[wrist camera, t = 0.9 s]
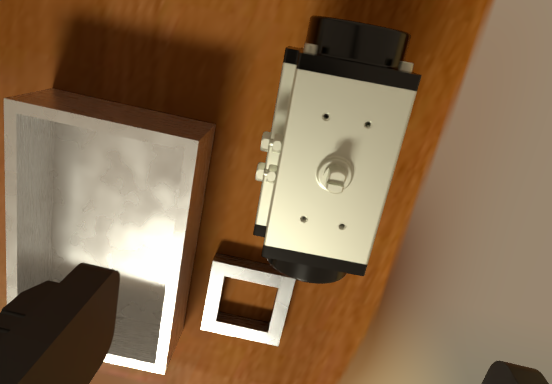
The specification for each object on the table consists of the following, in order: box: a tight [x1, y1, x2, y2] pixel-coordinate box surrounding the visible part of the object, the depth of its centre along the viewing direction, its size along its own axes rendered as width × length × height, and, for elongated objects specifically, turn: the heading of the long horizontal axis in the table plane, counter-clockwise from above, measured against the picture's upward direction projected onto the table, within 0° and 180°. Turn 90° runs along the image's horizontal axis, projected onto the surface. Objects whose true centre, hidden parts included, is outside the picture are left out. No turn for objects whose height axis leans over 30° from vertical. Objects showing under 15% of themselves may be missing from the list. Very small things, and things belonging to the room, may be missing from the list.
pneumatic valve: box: [253, 16, 421, 284], centre depth 22 cm, size 6×12×12 cm, turn 170°
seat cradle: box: [4, 88, 216, 374], centre depth 29 cm, size 17×11×5 cm, turn 168°
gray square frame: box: [201, 253, 296, 346], centre depth 32 cm, size 6×6×1 cm
